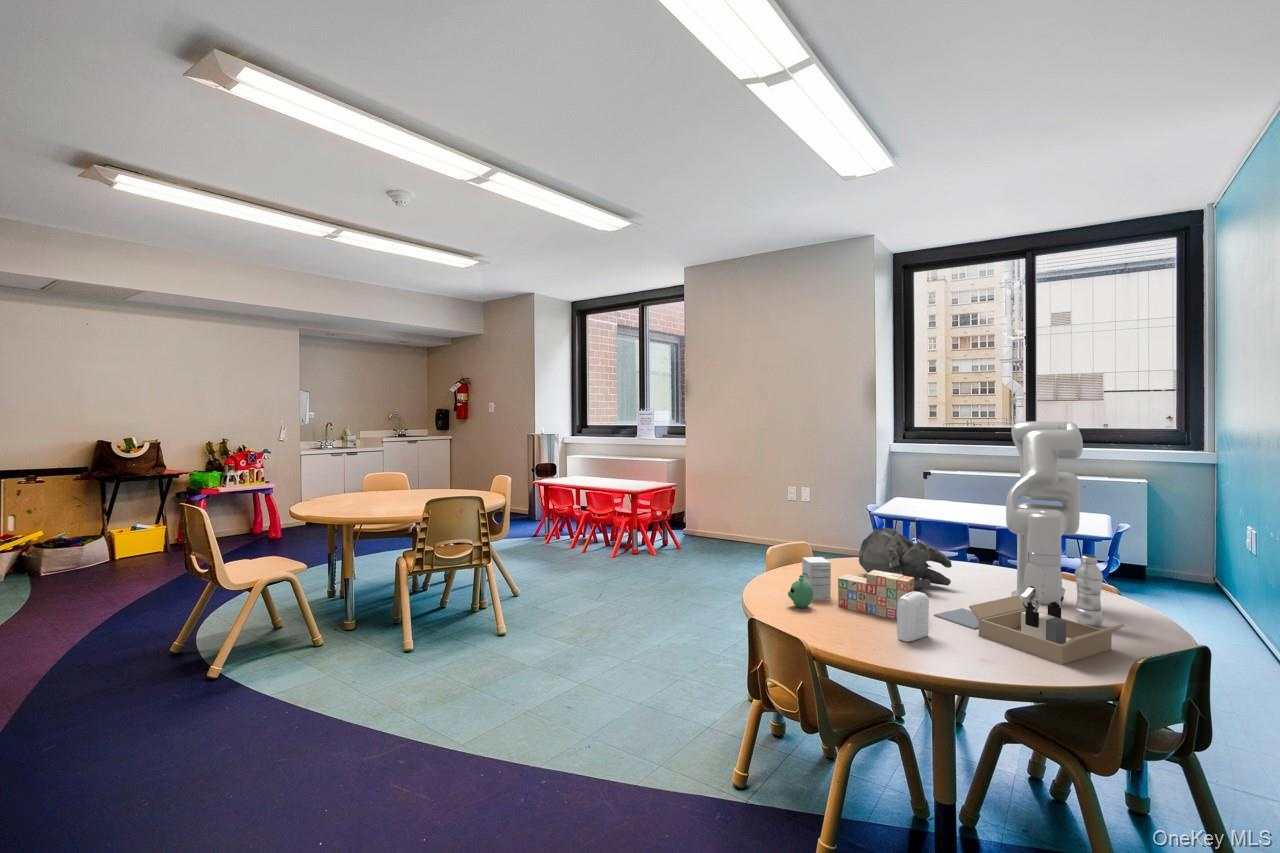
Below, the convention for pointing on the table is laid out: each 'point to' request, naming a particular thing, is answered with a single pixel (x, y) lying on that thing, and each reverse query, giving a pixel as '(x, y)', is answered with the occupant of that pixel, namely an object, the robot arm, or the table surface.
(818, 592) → the supplement box
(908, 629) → the photo printer
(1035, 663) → the table surface
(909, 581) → the stack of blocks
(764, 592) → the table surface
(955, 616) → the mat
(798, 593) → the alien toy
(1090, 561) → the plastic bottle
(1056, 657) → the carton
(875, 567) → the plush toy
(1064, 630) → the box
